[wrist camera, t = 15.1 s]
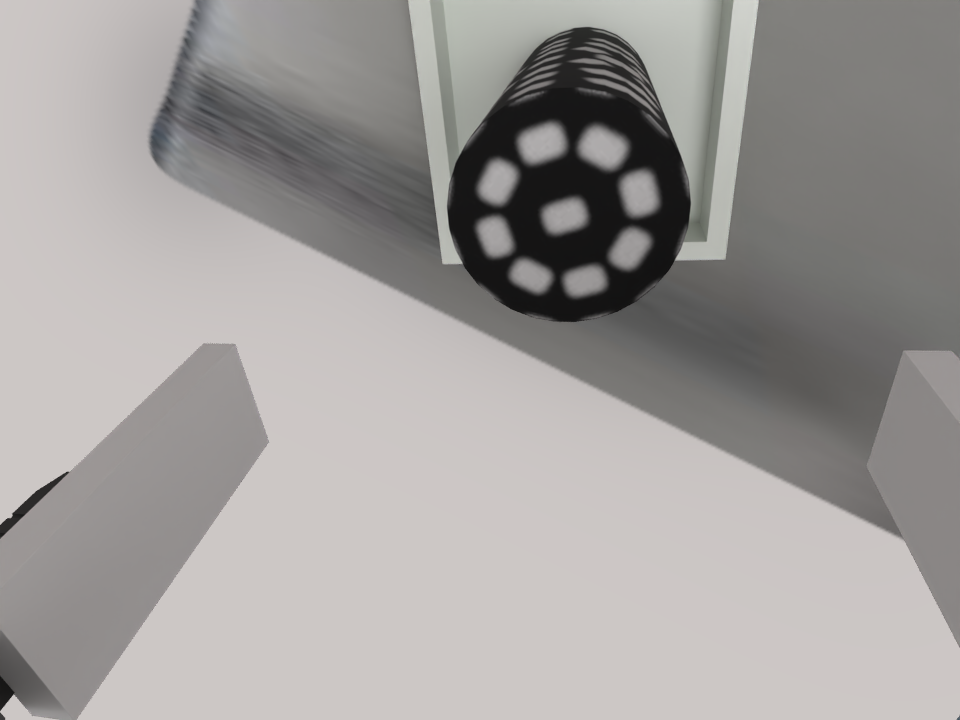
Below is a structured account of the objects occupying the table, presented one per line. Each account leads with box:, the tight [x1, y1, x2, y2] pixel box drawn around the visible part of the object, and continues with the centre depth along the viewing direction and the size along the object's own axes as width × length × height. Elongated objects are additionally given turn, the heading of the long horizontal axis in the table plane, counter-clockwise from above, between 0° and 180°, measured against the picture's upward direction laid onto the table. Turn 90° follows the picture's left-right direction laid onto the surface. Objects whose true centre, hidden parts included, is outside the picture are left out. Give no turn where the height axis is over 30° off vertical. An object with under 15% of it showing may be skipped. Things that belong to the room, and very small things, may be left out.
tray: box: [408, 0, 759, 264], centre depth 37 cm, size 18×18×4 cm
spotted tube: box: [447, 27, 691, 322], centre depth 30 cm, size 8×8×20 cm
